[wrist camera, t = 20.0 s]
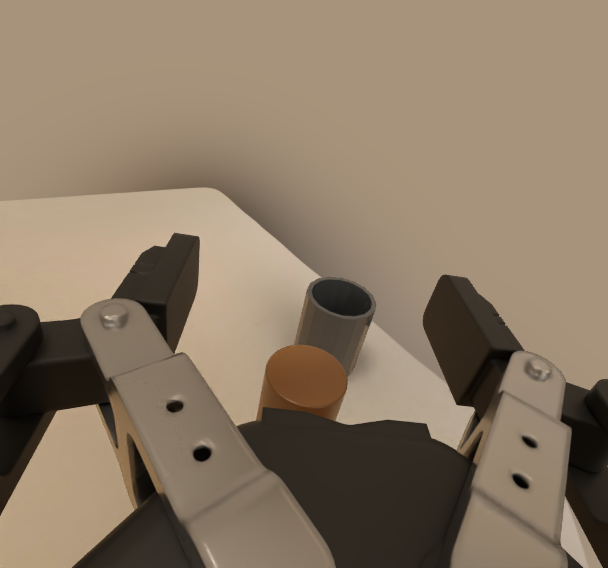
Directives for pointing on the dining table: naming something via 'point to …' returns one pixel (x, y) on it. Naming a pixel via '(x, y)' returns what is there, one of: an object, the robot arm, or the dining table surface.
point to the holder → (336, 319)
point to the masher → (303, 382)
